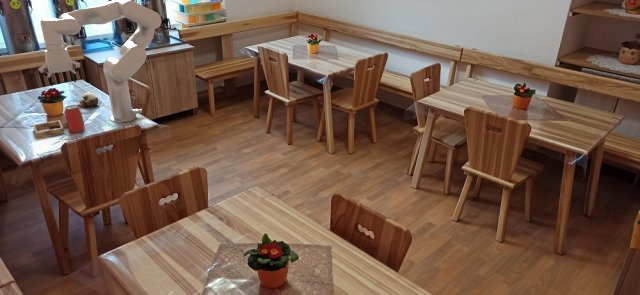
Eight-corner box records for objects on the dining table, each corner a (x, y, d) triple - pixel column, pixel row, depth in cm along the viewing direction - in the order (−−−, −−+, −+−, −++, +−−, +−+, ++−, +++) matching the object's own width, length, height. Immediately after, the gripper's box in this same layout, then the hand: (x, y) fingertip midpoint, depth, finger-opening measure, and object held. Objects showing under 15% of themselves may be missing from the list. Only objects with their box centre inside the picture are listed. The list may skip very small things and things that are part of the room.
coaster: (85, 126, 237) (84, 125, 237) (88, 133, 230) (88, 131, 230) (64, 130, 232) (64, 129, 232) (67, 137, 226) (67, 135, 225)
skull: (71, 108, 257) (75, 90, 260) (82, 115, 267) (85, 98, 270) (92, 108, 256) (96, 90, 259) (102, 115, 265) (106, 98, 268)
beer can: (78, 133, 228) (73, 110, 222) (66, 132, 229) (60, 108, 224) (87, 128, 233) (82, 105, 228) (75, 127, 235) (69, 104, 229)
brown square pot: (81, 120, 244) (79, 107, 241) (84, 125, 238) (81, 112, 235) (66, 123, 240) (63, 110, 237) (68, 128, 235) (65, 114, 232)
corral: (61, 125, 238) (59, 120, 236) (64, 133, 229) (63, 128, 228) (34, 130, 232) (33, 124, 230) (37, 139, 223) (35, 133, 222)
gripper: (74, 42, 223) (81, 78, 231) (32, 47, 214) (41, 84, 222) (78, 46, 218) (85, 82, 225) (35, 51, 209) (44, 88, 216)
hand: (63, 83), depth 223 cm, fingers open, 9 cm apart
